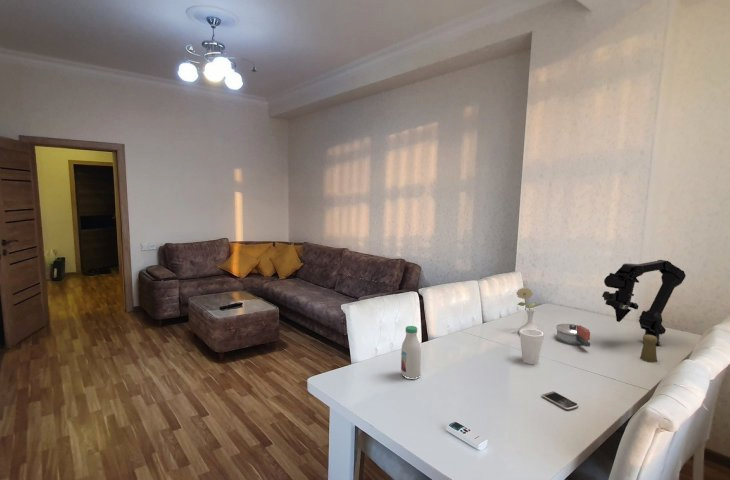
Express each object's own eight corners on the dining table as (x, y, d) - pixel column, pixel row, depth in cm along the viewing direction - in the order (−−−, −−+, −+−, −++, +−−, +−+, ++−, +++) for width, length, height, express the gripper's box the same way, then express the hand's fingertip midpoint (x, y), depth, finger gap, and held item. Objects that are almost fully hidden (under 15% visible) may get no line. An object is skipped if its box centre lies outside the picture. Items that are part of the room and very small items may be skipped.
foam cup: (542, 359, 169) (543, 330, 168) (542, 367, 161) (543, 337, 159) (519, 355, 173) (520, 327, 172) (518, 363, 165) (519, 334, 163)
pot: (549, 333, 202) (550, 324, 201) (577, 334, 201) (577, 325, 200) (571, 351, 177) (571, 341, 177) (602, 352, 176) (603, 342, 176)
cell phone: (567, 413, 127) (567, 409, 127) (539, 397, 137) (540, 393, 137) (579, 408, 130) (580, 405, 130) (551, 393, 140) (552, 390, 140)
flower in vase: (542, 333, 201) (545, 287, 199) (539, 340, 192) (541, 291, 189) (516, 329, 208) (518, 284, 206) (512, 335, 199) (514, 288, 196)
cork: (660, 363, 165) (662, 338, 164) (644, 361, 167) (646, 337, 165) (652, 357, 171) (654, 333, 170) (637, 356, 172) (639, 332, 171)
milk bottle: (422, 373, 155) (422, 325, 153) (418, 381, 148) (419, 331, 146) (403, 370, 158) (404, 323, 156) (399, 378, 151) (399, 329, 149)
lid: (551, 325, 199) (552, 316, 199) (581, 326, 198) (581, 317, 197) (570, 341, 176) (571, 331, 176) (604, 342, 175) (605, 332, 174)
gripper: (617, 287, 194) (610, 316, 195) (597, 284, 184) (590, 315, 185) (642, 292, 184) (634, 324, 185) (622, 290, 175) (614, 323, 176)
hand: (618, 321), depth 183 cm, fingers closed
